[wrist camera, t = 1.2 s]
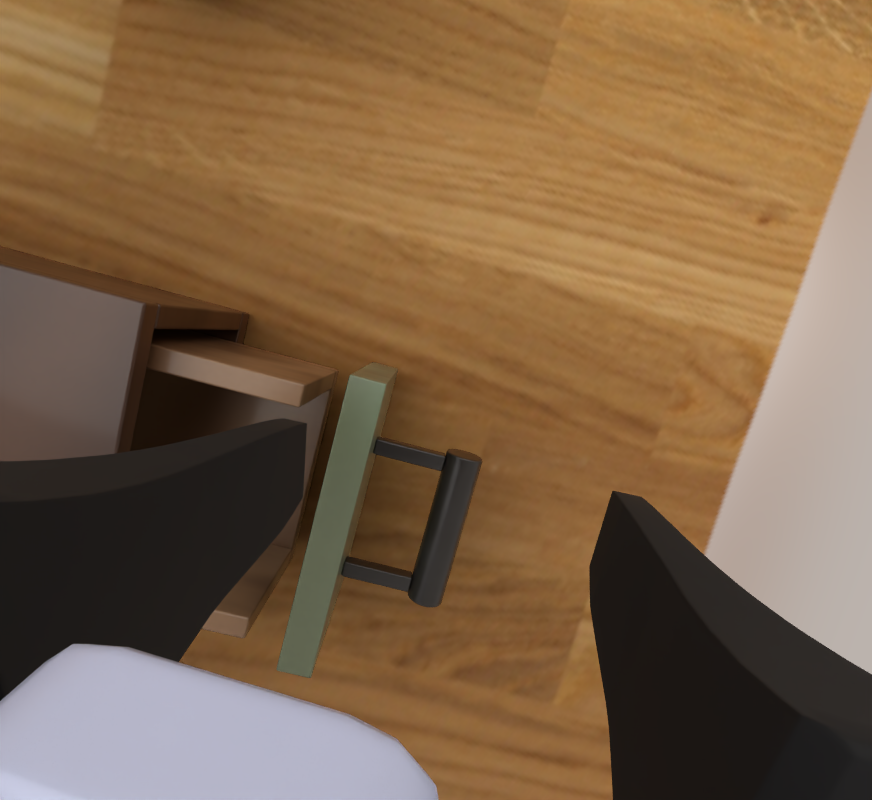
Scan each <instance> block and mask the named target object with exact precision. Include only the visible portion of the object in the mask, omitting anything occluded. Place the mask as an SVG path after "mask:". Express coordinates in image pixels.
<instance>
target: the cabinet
mask: <svg viewBox="0 0 872 800" xmlns="http://www.w3.org/2000/svg"><path fill="white" fill-rule="evenodd" d="M248 318H249V314H248V313H246V312H242V311H238V310H234V309H231V308H227V307H223V306H220V305H216V304H212V303H208V302H205V301H201V300H197V299H194V298H190V297H186V296H182V295H179V294H175V293H171V292H168V291H164V290H160V289H156V288H153V287H149V286H145V285H142V284H138V283H134V282H130V281H127V280H123V279H119V278H116V277H112V276H108V275H104V274H101V273H97V272H93V271H90V270H86V269H82V268H78V267H75V266H71V265H67V264H64V263H60V262H56V261H52V260H49V259H45V258H41V257H38V256H34V255H30V254H26V253H23V252H19V251H15V250H12V249H8V248H4V247H0V461H30V460H52V459H63V458H75V457H86V456H98V455H107V454H115V453H122V452H129V451H130V448H131V443H132V438H133V433H134V428H135V423H136V418H137V413H138V408H139V403H140V397H141V392H142V387H143V382H144V377H145V372H146V367H147V362H148V357H149V352H150V346H151V341H152V336H153V331H154V329H187V330H191V331H194V332H198V333H202V334H206V335H209V336H213V337H217V338H221V339H224V340H228V341H232V342H236V343H240V344H243V340H244V336H245V331H246V327H247V322H248Z"/></svg>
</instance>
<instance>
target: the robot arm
mask: <svg viewBox="0 0 872 800" xmlns="http://www.w3.org/2000/svg"><path fill="white" fill-rule="evenodd" d="M306 433H307V423H303V422H298V421H294V420H289V419H285V418H281V419H273V420H268V421H263V422H259V423H255V424H251V425H247V426H243V427H239V428H235V429H231V430H227V431H224V432H220V433H216V434H212V435H208V436H204V437H199V438H195V439H190V440H186V441H182V442H177V443H173V444H168V445H164V446H159V447H153V448H148V449H142V450H135V451H129V452H122V453H115V454H107V455H98V456H86V457H75V458H63V459H52V460H30V461H0V800H438V794H437V788H436V785H435V784H434V782H433V781H432V779H431V778H430V777H429V775H428V774H427V773H426V772H425V771H424V769H423V768H422V767H421V766H420V765H419V764H418V763H417V761H416V760H415V759H414V758H413V757H412V756H411V754H410V753H409V752H408V751H407V750H406V749H405V748H404V746H403V745H402V744H401V743H400V742H399V741H398V739H397V738H395V737H393V736H391V735H389V734H387V733H385V732H383V731H381V730H379V729H377V728H375V727H373V726H371V725H369V724H368V723H366V722H364V721H362V720H360V719H358V718H356V717H354V716H352V715H350V714H347V713H344V712H341V711H338V710H334V709H331V708H328V707H324V706H321V705H318V704H314V703H311V702H308V701H305V700H301V699H298V698H295V697H291V696H288V695H285V694H282V693H278V692H275V691H272V690H268V689H265V688H262V687H258V686H255V685H252V684H249V683H245V682H242V681H239V680H235V679H232V678H229V677H225V676H222V675H219V674H216V673H212V672H209V671H206V670H202V669H199V668H196V667H192V666H189V665H186V664H183V663H179V661H180V659H181V658H182V656H183V655H184V653H185V652H186V650H187V649H188V647H189V646H190V644H191V643H192V641H193V640H194V639H195V637H196V636H197V634H198V633H199V631H200V630H201V628H202V627H203V626H204V624H205V623H206V621H207V620H208V618H209V617H210V615H211V614H212V613H213V612H214V610H215V609H216V608H217V606H218V605H219V604H220V603H221V601H222V600H223V599H224V598H225V596H226V595H227V594H228V593H229V592H230V591H231V589H232V588H233V587H234V586H235V585H236V584H237V583H238V581H239V580H240V579H241V578H242V577H243V576H244V574H245V573H246V572H247V571H248V570H249V569H250V567H251V566H252V565H253V564H254V563H255V562H256V560H257V559H258V558H259V557H260V556H261V555H262V554H263V552H264V551H265V550H266V549H267V548H268V546H269V545H270V544H271V543H272V542H273V541H274V539H275V538H276V537H277V536H278V535H279V533H280V532H281V531H282V530H283V528H284V527H285V525H286V524H287V522H288V521H289V519H290V518H291V516H292V515H293V513H294V511H295V510H296V508H297V506H298V505H299V503H300V501H301V500H302V498H303V490H304V471H305V452H306ZM590 608H591V615H592V621H593V627H594V634H595V640H596V646H597V652H598V658H599V664H600V670H601V676H602V682H603V688H604V694H605V700H606V707H607V715H608V723H609V735H610V752H611V768H612V787H613V800H872V674H870V673H868V672H866V671H865V670H863V669H861V668H859V667H858V666H856V665H854V664H853V663H851V662H849V661H848V660H846V659H845V658H843V657H841V656H840V655H838V654H837V653H835V652H833V651H832V650H830V649H829V648H827V647H826V646H824V645H822V644H821V643H819V642H818V641H816V640H814V639H813V638H811V637H810V636H808V635H807V634H805V633H804V632H802V631H801V630H799V629H798V628H796V627H795V626H793V625H792V624H790V623H789V622H787V621H786V620H784V619H783V618H782V617H781V616H779V615H778V614H776V613H775V612H774V611H772V610H771V609H769V608H768V607H767V606H765V605H764V604H763V603H761V602H760V601H759V600H757V599H756V598H755V597H753V596H752V595H751V594H749V593H748V592H747V591H746V590H744V589H743V588H742V587H741V586H739V585H738V584H737V583H735V581H733V580H732V579H731V578H730V577H729V576H728V575H726V574H725V573H724V572H723V571H722V570H720V569H719V568H718V567H717V566H716V565H715V564H713V563H712V562H711V561H710V560H709V559H708V558H707V557H706V556H704V555H703V554H702V553H701V552H700V551H699V550H698V549H697V548H696V547H695V546H694V545H693V544H691V543H690V542H689V541H688V540H687V539H686V538H685V537H684V536H683V535H682V534H681V533H680V532H679V531H678V530H677V529H676V528H675V527H674V526H673V525H672V524H671V523H670V522H669V521H667V520H666V519H665V518H664V517H663V516H662V515H661V514H660V513H659V512H658V511H657V510H656V509H655V508H654V507H653V506H652V505H651V504H649V503H648V502H647V501H646V500H645V499H643V498H642V497H639V496H635V495H630V494H626V493H621V492H616V491H612V494H611V498H610V501H609V504H608V507H607V511H606V514H605V517H604V521H603V524H602V527H601V530H600V534H599V537H598V540H597V543H596V547H595V550H594V553H593V557H592V560H591V563H590Z"/></svg>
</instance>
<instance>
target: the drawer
mask: <svg viewBox="0 0 872 800" xmlns="http://www.w3.org/2000/svg"><path fill="white" fill-rule="evenodd" d="M397 372H398V369H397V368H394V367H390V366H386V365H383V364H379V363H375V362H372V363H370V364H368V365H367V366H365V367H363V368H361V369H359V370H358V371H356V372H354V373H352V374H351V375H350V376H349V379H348V383H347V387H346V392H345V396H344V400H343V404H342V408H341V412H340V416H339V420H338V424H337V428H336V432H335V436H334V440H333V444H332V448H331V452H330V456H329V460H328V464H327V468H326V472H325V476H324V480H323V484H322V488H321V492H320V496H319V500H318V504H317V508H316V512H315V516H314V520H313V524H312V528H311V532H310V536H309V540H308V544H307V548H306V552H305V556H304V560H303V564H302V568H301V572H300V576H299V581H298V585H297V589H296V593H295V597H294V601H293V605H292V609H291V613H290V617H289V621H288V625H287V629H286V633H285V637H284V641H283V645H282V649H281V653H280V657H279V661H278V665H277V671H282V672H286V673H290V674H295V675H299V676H303V677H308V678H311V676H312V673H313V670H314V667H315V664H316V661H317V658H318V655H319V652H320V649H321V646H322V643H323V640H324V637H325V634H326V631H327V628H328V625H329V622H330V619H331V616H332V613H333V610H334V607H335V603H336V600H337V597H338V594H339V591H340V588H341V585H342V582H343V579H344V576H345V577H349V578H353V579H357V580H361V581H365V582H369V583H373V584H378V585H382V586H386V587H390V588H394V589H398V590H402V591H406V592H408V596H409V598H410V599H411V600H412V601H413V602H415V603H417V604H419V605H421V606H425V607H437V606H439V605H440V604H441V602H442V599H443V595H444V592H445V588H446V585H447V582H448V578H449V575H450V571H451V568H452V564H453V561H454V557H455V554H456V550H457V547H458V544H459V540H460V537H461V533H462V530H463V526H464V523H465V519H466V516H467V512H468V509H469V505H470V502H471V499H472V495H473V492H474V488H475V485H476V481H477V478H478V474H479V471H480V467H481V464H482V459H481V458H480V457H478V456H477V455H475V454H472V453H470V452H466V451H463V450H458V449H448V450H447V452H446V456H445V454H444V453H442V452H438V451H434V450H430V449H426V448H422V447H418V446H415V445H411V444H407V443H403V442H399V441H395V440H391V439H388V438H384V437H381V433H382V430H383V426H384V422H385V418H386V414H387V410H388V407H389V403H390V399H391V395H392V391H393V387H394V384H395V380H396V376H397ZM337 375H338V370H337V369H334V368H330V367H326V366H322V365H319V364H315V363H311V362H307V361H303V360H300V359H296V358H292V357H288V356H285V355H281V354H277V353H273V352H270V351H266V350H262V349H258V348H255V347H251V346H247V345H243V344H240V343H236V342H232V341H228V340H224V339H221V338H217V337H213V336H209V335H206V334H202V333H198V332H194V331H191V330H187V329H154V331H153V336H152V341H151V346H150V352H149V357H148V362H147V367H146V372H145V377H144V382H143V387H142V392H141V397H140V403H139V408H138V413H137V418H136V423H135V428H134V433H133V438H132V443H131V448H130V451H135V450H142V449H148V448H153V447H159V446H164V445H168V444H173V443H177V442H182V441H186V440H190V439H195V438H199V437H204V436H208V435H212V434H216V433H220V432H224V431H227V430H231V429H235V428H239V427H243V426H247V425H251V424H255V423H259V422H263V421H268V420H273V419H281V418H285V419H289V420H294V421H298V422H303V423H307V433H306V452H305V471H304V490H303V498H302V500H301V501H300V503H299V505H298V506H297V508H296V510H295V511H294V513H293V515H292V516H291V518H290V519H289V521H288V522H287V524H286V525H285V527H284V528H283V530H282V531H281V532H280V533H279V535H278V536H277V537H276V538H275V539H274V541H273V542H272V543H271V544H270V545H269V546H268V548H267V549H266V550H265V551H264V552H263V554H262V555H261V556H260V557H259V558H258V559H257V560H256V562H255V563H254V564H253V565H252V566H251V567H250V569H249V570H248V571H247V572H246V573H245V574H244V576H243V577H242V578H241V579H240V580H239V581H238V583H237V584H236V585H235V586H234V587H233V588H232V589H231V591H230V592H229V593H228V594H227V595H226V596H225V598H224V599H223V600H222V601H221V603H220V604H219V605H218V606H217V608H216V609H215V610H214V612H213V613H212V614H211V615H210V617H209V618H208V620H207V621H206V623H205V624H204V626H203V627H202V628H201V629H205V630H209V631H214V632H218V633H222V634H226V635H231V636H235V637H239V638H245V637H246V635H247V633H248V632H249V630H250V628H251V627H252V625H253V623H254V622H255V620H256V618H257V616H258V615H259V613H260V611H261V610H262V608H263V606H264V605H265V603H266V601H267V600H268V598H269V596H270V594H271V593H272V591H273V589H274V588H275V586H276V584H277V583H278V581H279V579H280V578H281V576H282V574H283V572H284V571H285V569H286V567H287V566H288V564H289V562H290V561H291V559H292V557H293V554H294V550H295V546H296V542H297V538H298V534H299V530H300V526H301V522H302V518H303V514H304V510H305V505H306V501H307V497H308V493H309V489H310V485H311V481H312V477H313V473H314V469H315V465H316V461H317V457H318V453H319V448H320V444H321V440H322V436H323V432H324V428H325V424H326V420H327V416H328V412H329V408H330V404H331V400H332V396H333V391H334V387H335V383H336V379H337ZM376 455H380V456H384V457H388V458H392V459H396V460H400V461H403V462H407V463H411V464H415V465H419V466H423V467H427V468H431V469H435V470H438V471H441V474H440V478H439V481H438V485H437V488H436V492H435V495H434V499H433V503H432V506H431V510H430V513H429V517H428V521H427V524H426V528H425V531H424V535H423V538H422V542H421V546H420V549H419V553H418V556H417V560H416V564H415V567H414V571H413V574H412V572H411V571H406V570H402V569H398V568H394V567H390V566H386V565H382V564H378V563H374V562H370V561H366V560H362V559H357V558H353V557H349V556H350V552H351V549H352V545H353V541H354V537H355V533H356V529H357V525H358V522H359V518H360V514H361V510H362V506H363V502H364V499H365V495H366V491H367V487H368V483H369V479H370V476H371V472H372V468H373V464H374V460H375V456H376Z"/></svg>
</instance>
